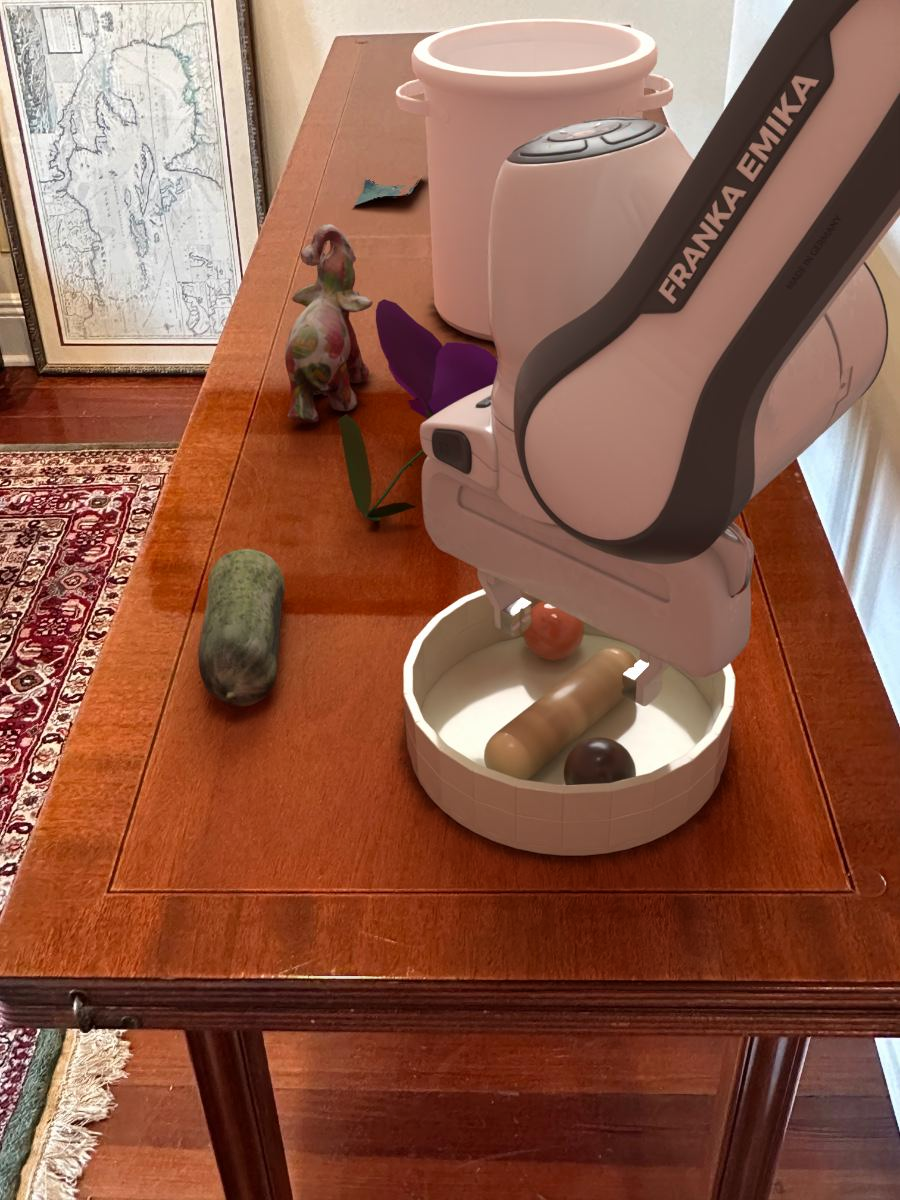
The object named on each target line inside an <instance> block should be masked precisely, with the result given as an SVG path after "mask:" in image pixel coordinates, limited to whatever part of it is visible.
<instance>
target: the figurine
mask: <svg viewBox="0 0 900 1200" xmlns="http://www.w3.org/2000/svg"><path fill="white" fill-rule="evenodd" d="M328 241H329V251H328V253H327V254H325V250H326V247H327V245H328ZM299 254H300V259H301V262H302V263H303V264H305V265H306V266H311V267H316V271H317V273H316V274H317V276H316V277H317V278H316V280H315V282H314V283H311V284H309V285H306V286H303V287H302V288H300V289H298V290H297V291H296V292H294V293H293V295H291V301H292V302H293V303H295V304H299V305H302V306H303V307H304V306H305V308H304V309H303V310H302V311H301V313H300V314H299V315H298V316H297V317H296V319H295V320H294V321H293V324H292V326H291V328H290V330H289V334H288V338H287V342H286V344H285V352H284V362H285V368H286V373H287V376H288V379H289V384H290V385H289V386H290V405H289V406H290V407H289V410H288V414H287V417H288V418H289V419H290V420H291V421H294V422H309V423H317V422H319V421H320V416H319V414H318V411H317V410H316V407H315V403H314V396H318V395H323V396H327V397H328V401H329V405H330V407H331V408H332V409H333V410H335V411H338V412H348V411H352V410H353V409H354V408H356V407H357V406H358V403H359V402H358V396H357V394H356V393H355V391H353V389H352V386H351V383H353V384H359V383H362V382H363V383H364V382H366V380H368V377H369V375H370V374H369V373H370V369H369V367H368V365H367V364H366V363H365V362H364V361H363V358H362V357H363V356H362V352H361V349H360V346H359V343H358V338H357V335H356V331H355V329H354V326H353V325H352V323H351V321H350V313H358V312H363V311H365V310H367V309H369V308H371V307H372V305H373V302H374V301H373V300H371V299H370V298H369V297H368V296H364V295H361V294H360V293H359V291H356V290H354V287H355V285H356V270H355V267H354V264H355V262H356V261H357V257H356V255H355V252H354V248H353V247H352V245H351V243H350V239H349V238H348V237H347V236H346V235H345V234H344V233H343V232H342V230H341V229H340V228H337V227H336V226H335V225H333V224H331V223H330V224H329V223H328V224H322V225H321V226H319V227H318V228H317V229H316V230H315V233H314V234H313V236H312V241H311V244H309V245H307V246H305V247H304V248H303V249H302V250H301V251H300V252H299Z"/></svg>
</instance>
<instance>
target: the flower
mask: <svg viewBox="0 0 900 1200" xmlns="http://www.w3.org/2000/svg"><path fill="white" fill-rule="evenodd" d="M375 325H376V331H377V336H378V340H379V345H380V348H381V350H382V352H383V356H384V357H385V358H386V359H385V360H386V361H387V363H388V370H389V371H390V373H391V375H392V377H393V379H394V381H395V383H396V384H398V385H399V386H400V387H401V388H402V389H404V391H406V392H407V393H408V394H409V395H410V396H411V397H412V398H413V399H409V400H407V403H408V404H409V407H410V409H411V410H412V411H414V412H415V413H417V414H419V415H420V416H422V417H424V418H425V419H426V420H428V419H429V418H430V417H432V416H433V415H435V414H436V413H438V412H439V411H441V410H443V409H444V408H446V407H448V406H449V405H451V404H453V403H455V402H456V401H458V400H460V399H462V398H464V397H466V396H468V395H470V394H472V393H474V392H476V391H478V390H481V389H483V388H485V387H487V386H490V385H492V384H494V380H495V377H496V373H497V366H498V359H497V358H496V357H495V356H494V355H493V354H492V353H491V352H490V351H488V350H487V349H486V348H485V347H484V348H483V347H481V346H479V345H477V344H474V343H467V342H459V341H452V342H445V344H444V345H443V343H442V342H441V341H440V340H439V339H438V338H437V337H436V336H435V335H434V333H432V332H431V331H430V330H428V329H427V328H426V327H424V326H423V325H421V324H419V323H418V322H417V321H416V320H415V319H414V318H413V317H412V316H411V315H409V313H407V312H406V311H405V310H404V309H403V308H402V307H401V306H400V305H399V303H396V302H395V301H392V300H388V299H385V298H383V299H381V300H380V301H378V302H377V305H376V309H375ZM336 421H337V424H338V427H339V428H338V429H339V431H340V437H341V440H342V441H341V442H342V447H343V448H342V449H343V452H344V459H345V466H346V471H347V476H348V481H349V486H350V490H351V493H352V497H353V500H354V503H355V506H356V509H357V510H358V511H359V512H360V513H361V514H362V515H363V516H364V518H365V519H368V520H369V521H372V522H373V521H374V522H378V521H381V518H385V517H390V516H394V515H396V514H400V513H403V512H407V511H409V510H411V509H414V508H417V507H418V505H413V504H411V503H409V502H407V501H402V502H401V501H400V502H392V503H389V504H386V505H385V504H384V505H381V506H379V505H380V504H381V503H382V501H384V499H385V498H386V497H387V496H388V495H389V493H390V492H391V490H392V488H393V487H394V485H395V484H396V482H397V481H398V480H399V478H400V477H401V475H402V474H403V472H404V471H405V470H406V469H407V468H408V467H413V466H414V465H413V463H414V462H415V461H416V460H417V459H419V458H420V457H421V455H423V454H425V453H424V451H423V449H422V448H421V450H420V451H419V452H418V453H417V454H416V455H414V456H413V457H412V458H410V460H409V461H408V462H407V463H406V464H404V465H403V466H402V467H401V468H400V470H398V473H397V474H396V475H395V477H394V478H393V480H392V481H391V482H390V484H389V485H388V487H387V489H386V490H385V492H384V493H383V494H382V495H381V496H380V498H379V499H378V500H377V501H376V502H375V503H374V505H373V506H372V507H371V505H372V487H373V485H372V483H373V482H372V481H373V480H372V475H371V474H372V473H371V468H370V463H369V458H368V453H367V446H366V444H365V441H364V438H363V435H362V432H361V429H360V426H359V425H358V423H357V422H355V420H354V419H353V418H351V416H350V415H348V413H346V414H344V415H343V416H341V417H339V418H338V419H336ZM378 506H379V507H378Z"/></svg>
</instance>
